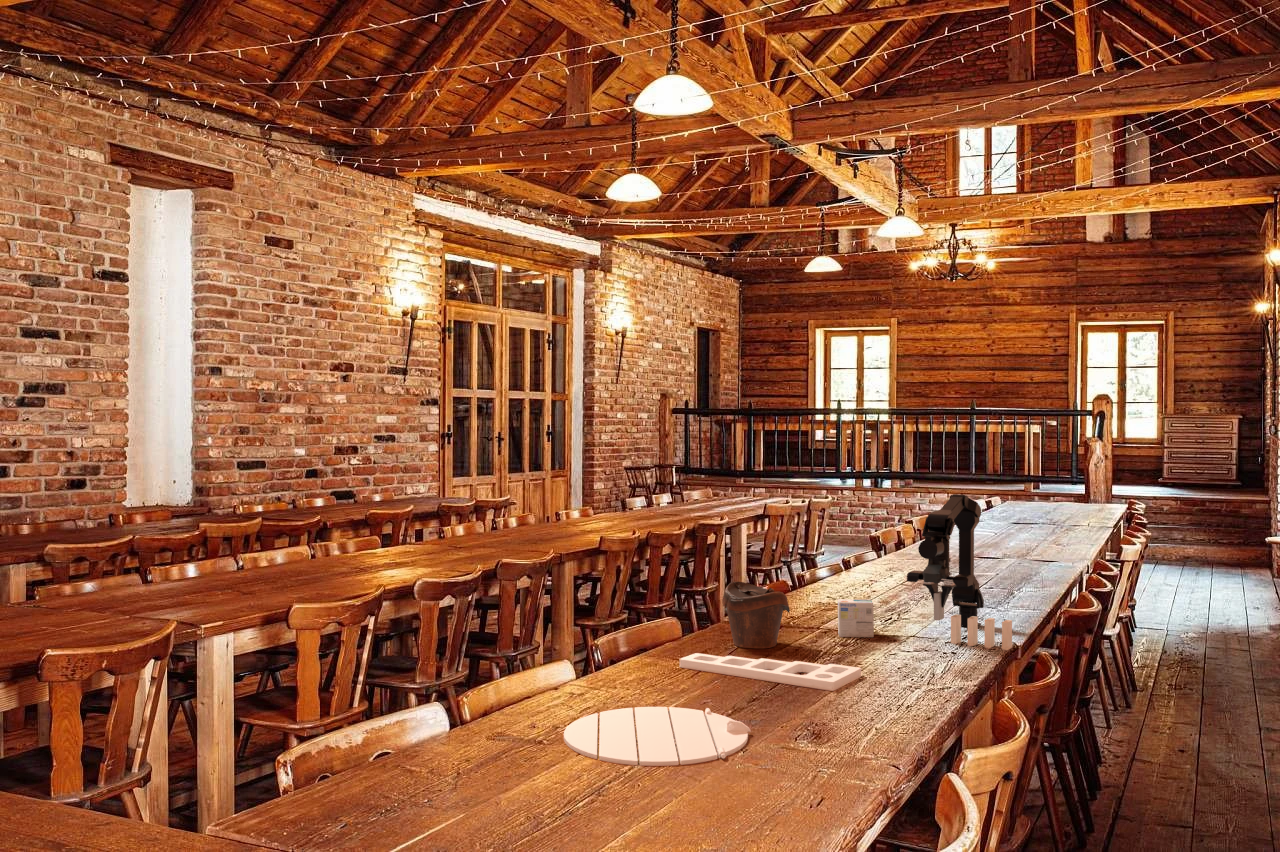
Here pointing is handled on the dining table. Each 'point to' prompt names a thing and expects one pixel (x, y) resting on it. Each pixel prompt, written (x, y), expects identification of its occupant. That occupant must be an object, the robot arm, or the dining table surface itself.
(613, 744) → the white grooved round board
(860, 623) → the light bulb box
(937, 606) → the domino
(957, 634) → the domino
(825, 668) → the holder
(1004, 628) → the domino
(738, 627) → the rusty bucket
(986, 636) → the domino
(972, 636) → the domino
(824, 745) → the dining table surface
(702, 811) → the dining table surface
